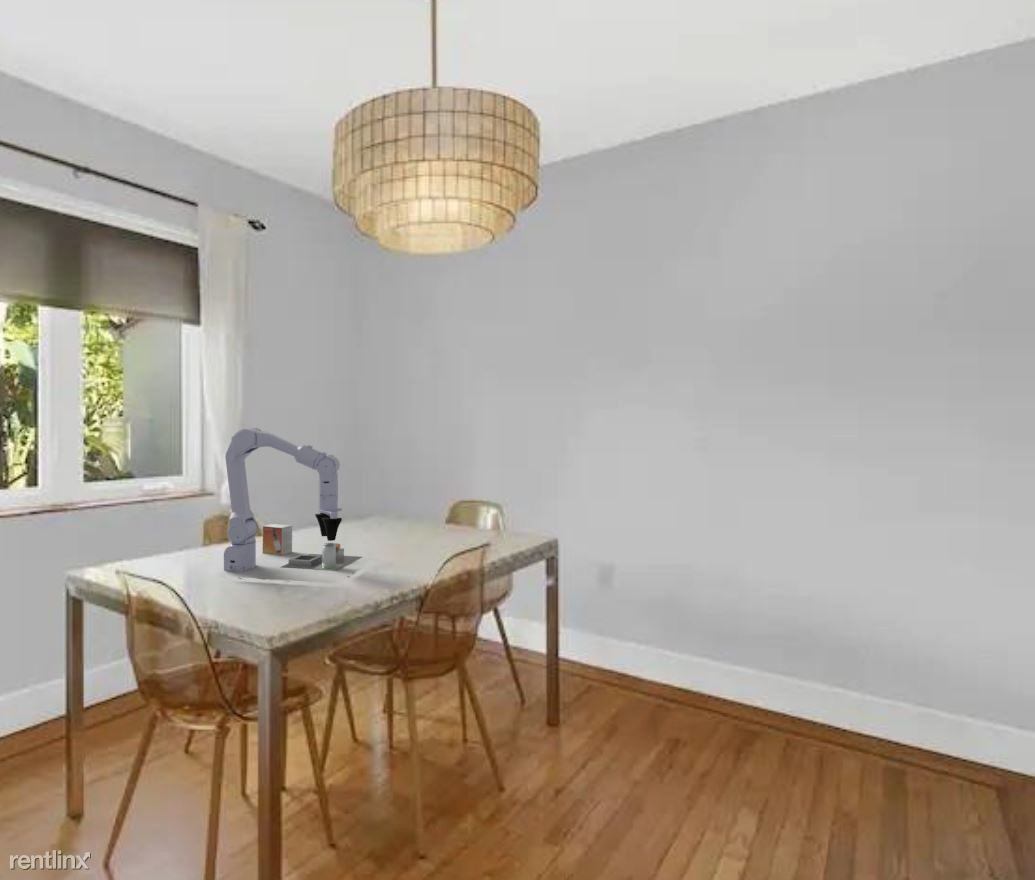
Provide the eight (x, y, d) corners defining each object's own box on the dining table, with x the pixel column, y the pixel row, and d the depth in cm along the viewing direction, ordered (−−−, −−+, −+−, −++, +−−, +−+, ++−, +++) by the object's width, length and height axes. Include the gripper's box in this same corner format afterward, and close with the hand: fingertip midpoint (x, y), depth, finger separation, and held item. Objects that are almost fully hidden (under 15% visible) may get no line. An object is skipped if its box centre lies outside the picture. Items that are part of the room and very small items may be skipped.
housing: (337, 574, 197) (337, 560, 196) (280, 571, 200) (280, 557, 200) (362, 560, 215) (362, 547, 215) (309, 557, 218) (309, 544, 218)
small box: (262, 556, 218) (262, 525, 218) (273, 553, 224) (273, 523, 223) (281, 558, 216) (281, 527, 215) (292, 555, 221) (292, 524, 221)
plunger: (337, 558, 209) (337, 546, 209) (326, 558, 210) (326, 545, 209) (342, 556, 213) (342, 543, 212) (331, 555, 213) (331, 543, 213)
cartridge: (336, 567, 200) (336, 544, 200) (323, 568, 198) (323, 545, 198) (334, 564, 203) (334, 541, 203) (321, 565, 202) (321, 542, 201)
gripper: (347, 497, 196) (347, 541, 197) (335, 491, 209) (335, 533, 209) (324, 498, 192) (324, 543, 193) (312, 492, 205) (312, 534, 206)
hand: (328, 538), depth 201 cm, fingers open, 7 cm apart
